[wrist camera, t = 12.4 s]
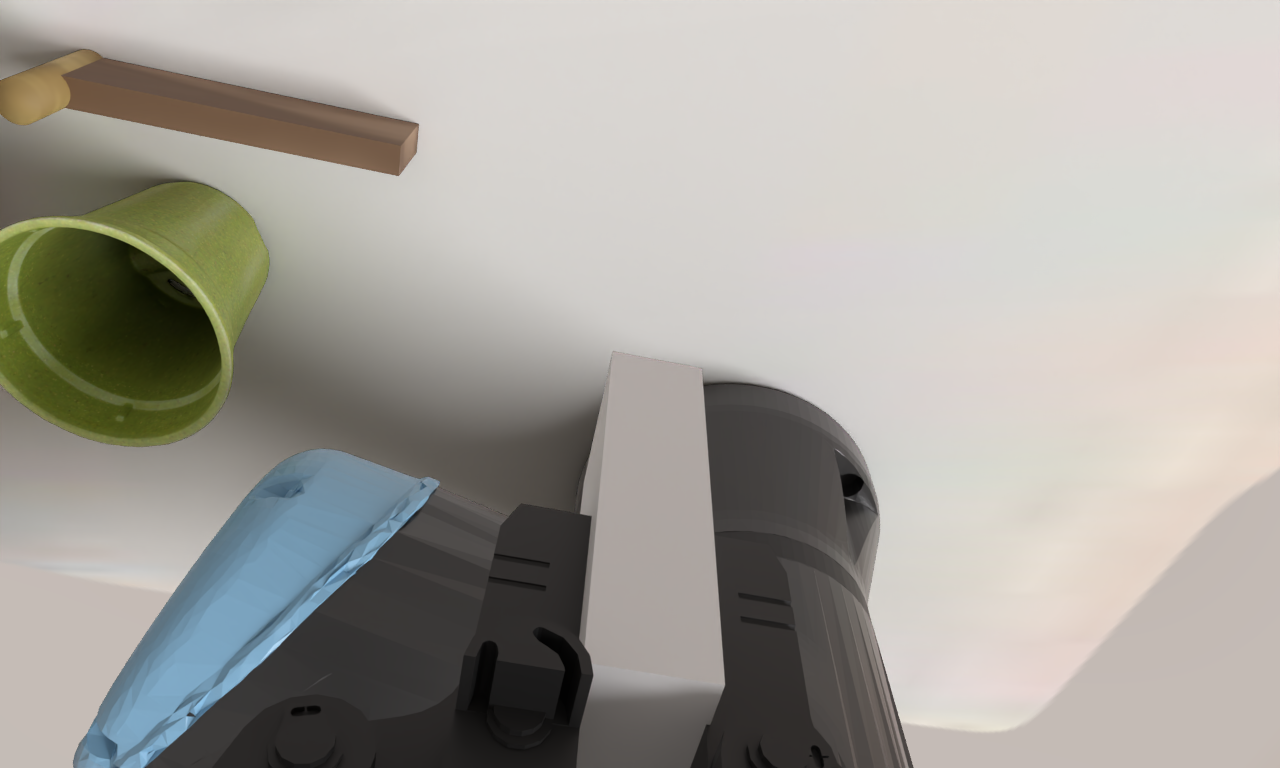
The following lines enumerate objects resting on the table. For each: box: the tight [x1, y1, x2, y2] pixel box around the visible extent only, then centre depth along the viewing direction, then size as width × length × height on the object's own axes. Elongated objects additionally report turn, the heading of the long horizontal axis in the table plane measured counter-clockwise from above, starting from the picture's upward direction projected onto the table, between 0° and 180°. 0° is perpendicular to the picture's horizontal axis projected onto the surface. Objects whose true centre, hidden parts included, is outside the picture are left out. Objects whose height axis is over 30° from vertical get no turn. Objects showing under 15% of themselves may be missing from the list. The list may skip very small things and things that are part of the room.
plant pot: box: [0, 182, 269, 447], centre depth 37 cm, size 9×9×9 cm
